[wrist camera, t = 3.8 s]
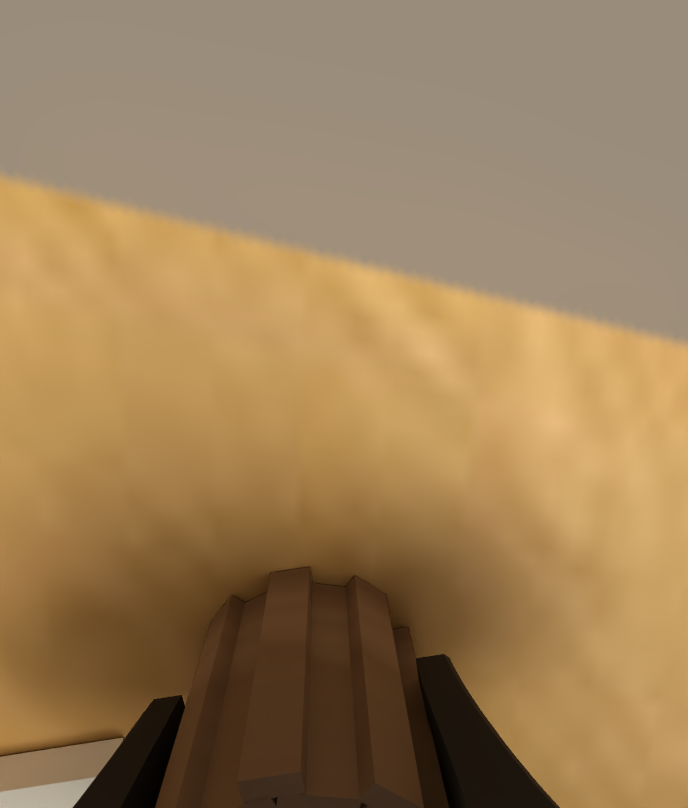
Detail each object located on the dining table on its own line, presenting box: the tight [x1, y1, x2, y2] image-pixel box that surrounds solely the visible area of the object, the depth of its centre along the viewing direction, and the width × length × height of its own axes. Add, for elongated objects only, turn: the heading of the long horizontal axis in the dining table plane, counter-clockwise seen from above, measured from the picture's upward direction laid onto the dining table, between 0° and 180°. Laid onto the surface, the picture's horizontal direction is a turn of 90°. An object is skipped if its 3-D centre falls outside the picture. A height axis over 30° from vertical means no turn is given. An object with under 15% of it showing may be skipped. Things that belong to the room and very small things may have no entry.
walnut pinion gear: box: [155, 567, 449, 808], centre depth 11 cm, size 5×5×5 cm
